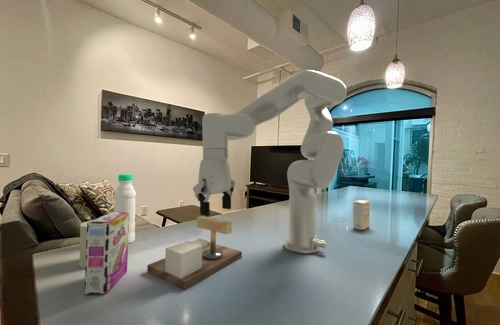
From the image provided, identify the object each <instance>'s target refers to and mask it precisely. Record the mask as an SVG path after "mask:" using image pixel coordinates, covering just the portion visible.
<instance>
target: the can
mask: <svg viewBox="0 0 500 325" xmlns="http://www.w3.org/2000/svg"><path fill="white" fill-rule="evenodd" d="M92 220H93V219H92ZM92 220H88V221H84V222H81V223H80V225H79V228H80V229H79V232H80V234H79V235H80V236H79V240H80V241H79V262H78V265H79V267H80V268H83V269H86V243H87V222H89V221H92Z"/></svg>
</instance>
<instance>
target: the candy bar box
mask: <svg viewBox="0 0 500 325" xmlns="http://www.w3.org/2000/svg"><path fill="white" fill-rule="evenodd" d="M88 221H89V222H87V221H86V222H87V243H86V268H84V270H85V273H84V274H85V275H84V276H85V277H84V295H106V294H107V293H108V292H109V291H110V290H111V289H112V288H113V287H114V286H115V285H116V284H117V283H118V281H119V280H120V279H121V278H122V277H123V276H124V275H125V274H126V273H127V272H128V258H129V257H128V253H129V244H128V233H129V213H127V212H114V211H111V212H109V213H107V214H104V215H102V216H100V217H97V218H95V219H94V218H93V219H92V221H91V220H88Z"/></svg>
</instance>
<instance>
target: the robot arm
mask: <svg viewBox="0 0 500 325" xmlns="http://www.w3.org/2000/svg"><path fill="white" fill-rule="evenodd" d="M347 92H348V90H347V87H346V85H345V84H344V83H343V81H342V80H340V79H338V78H336V77H333V76H331V75H329V74H326V73H323V72H320V71H318V70H314V69H304V70H302V71H300V72H299V73H296V74H295V75H293V76H291V77H290V78H287V79H286V80H284V81H283V82H281V83H280V84H277V86H275V87H274V88H272V89H271V90H270V89H269V91H267V92H266V93H264V94H262V95H261V96H260V97H258V98H256V99H254V101H252V102H251V103H250V104H248V105H247V106H245V107H243V108H241V109H240V110H239V111H237V112H236V113H233V114H224V113H219V112H211V113H206V114H204V115H203V116H202V122H201V123H202V124H201V126H202V131H201V132H202V160H200V164H199V168H198V182H197V184H195V185H194V186H193V187H192V191H193V192H194V195H195V198H196V199H197V201H198V202H199V214H200V216H205V217H210V215H211V213H210V210H211V209H210V207H211V206H210V205H211V204H210V201H209V199H210V197H211V196H212V195H217V194H220V193H222V196H221V197H222V198H221V201H222V202H221V203H222V206H221V208H222V209H223V210H231V209H232V196H233V193H234V188H235V184H236V182H235V181H234V180H233V179H232V176H231V175H232V174H231V168H230V160H229V141H237V140H243V139H246V138H248V137H250V136H252V135H253V133H254V132H255V128H256V127H257V126H259V125H261V124H262V123H266V122H268V121H270V120H273V119H274V118H276V117H278V116H280V115H281V114H283V113H284V112H286V110H288V109H290V108H291V107H293V106H294V105H295V104H296V103H297V104H298V102H300V101H301V100H304V105H305V108H306V109H307V111H308V114H309V117H310V118H309V119H310V120H309V123H308V124H309V125H308V127H307V130H306V132H305V135H304V137H303V140H302V142H301V146H300V153H301V155H302V156H303V157H304V158H306V159H300V160H296V161H293V162H292V163H291V164H290V165H289V166H288V169H287V173H286V174H287V182H288V183H287V184H288V192H289V193H288V194H289V195H288V196H289V198H288V201H289V203H288V234H287V236H288V238H287V239H285V241H284V242H283V247H284V248H285V249H286V250H288V251H290V252H294V253H299V254H314V253H317V252H319V251H320V248H321V249H325V250H327V248H328V242H326V240H321V239H319V235H318V234H316V224H317V223H316V221H317V220H316V216H317V196H316V192H315V189H316V190H324V189H327V188H328V187H329V186H330V185H331V184H332V183H333V181H334V179H335V176H336V173H337V170H338V168H339V165H340V162H341V160H342V156H343V153H344V148H345V145H344V140H343V138H342V136H341V134H339V133H338V132H336V131H332V130H333V127H334V120H333V117H332V116H331V114H330V112H329V110H328V108H330V107H334V106H337V105H341V104H342V102H344V101H345V100H346V97H347V96H348V95H347Z"/></svg>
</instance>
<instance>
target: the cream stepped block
mask: <svg viewBox="0 0 500 325" xmlns="http://www.w3.org/2000/svg"><path fill="white" fill-rule="evenodd" d="M207 242H208V240H207V239H206V240H205V239H202V238H197V239H195V240H192V241H189V240H185V241H182V242H180V243H177V244H174V245H171V246H168V247H165V258H166V259H165V272H167V273H169V274H172V275H174V276H176V277H178V278H180V279H181V278H183V277H185V276H187V275H189V274H191V273H193V272H195V271H197V270H199V269H201V268H202V247H204V246H206V245H207Z"/></svg>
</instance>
